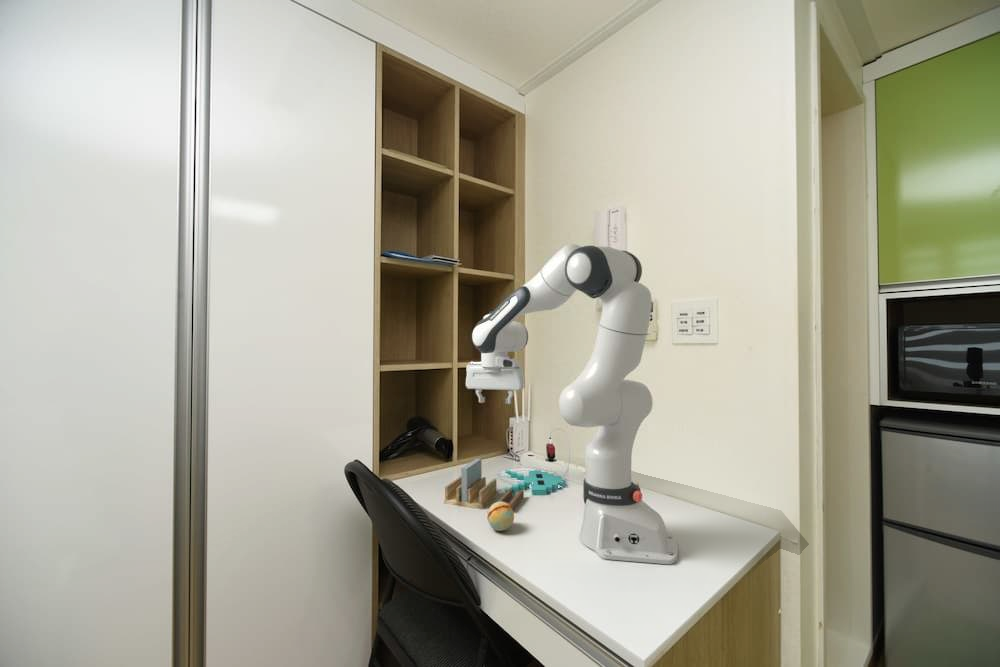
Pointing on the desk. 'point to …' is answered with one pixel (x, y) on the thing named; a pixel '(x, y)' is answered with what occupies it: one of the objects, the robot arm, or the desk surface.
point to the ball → (500, 516)
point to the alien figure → (536, 482)
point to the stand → (515, 500)
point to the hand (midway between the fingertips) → (494, 403)
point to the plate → (470, 476)
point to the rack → (471, 493)
